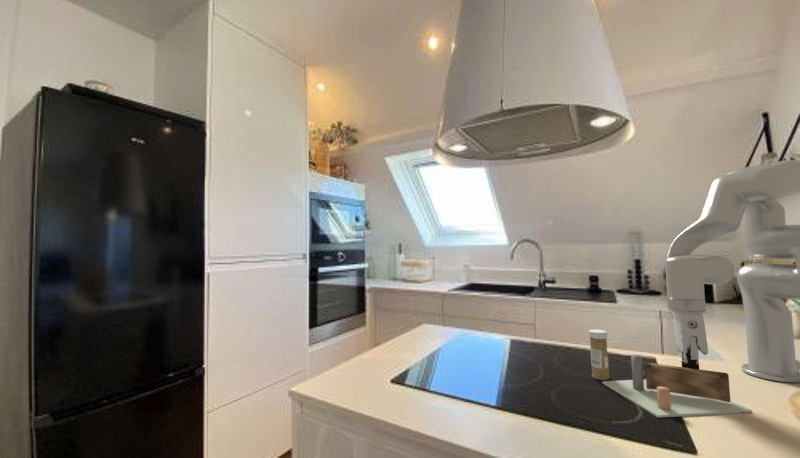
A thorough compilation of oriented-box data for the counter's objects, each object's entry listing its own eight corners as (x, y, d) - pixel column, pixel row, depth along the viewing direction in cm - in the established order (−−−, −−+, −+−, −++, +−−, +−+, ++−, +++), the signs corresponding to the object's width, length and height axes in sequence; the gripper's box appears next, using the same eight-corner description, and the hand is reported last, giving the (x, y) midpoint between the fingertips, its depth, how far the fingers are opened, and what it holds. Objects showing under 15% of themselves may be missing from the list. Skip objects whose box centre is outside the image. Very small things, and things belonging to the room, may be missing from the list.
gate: (729, 399, 84) (727, 373, 84) (730, 402, 82) (728, 375, 83) (646, 386, 93) (645, 362, 93) (646, 388, 91) (645, 364, 92)
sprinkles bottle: (613, 379, 101) (610, 332, 101) (598, 381, 100) (595, 333, 101) (602, 374, 105) (599, 328, 106) (588, 375, 105) (585, 329, 105)
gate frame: (678, 379, 100) (675, 347, 100) (752, 412, 80) (748, 371, 80) (602, 383, 99) (600, 350, 99) (657, 417, 79) (655, 376, 79)
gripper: (714, 311, 82) (720, 392, 81) (696, 301, 95) (701, 371, 94) (674, 309, 85) (679, 387, 84) (662, 300, 99) (666, 367, 98)
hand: (691, 378), depth 89 cm, fingers closed
